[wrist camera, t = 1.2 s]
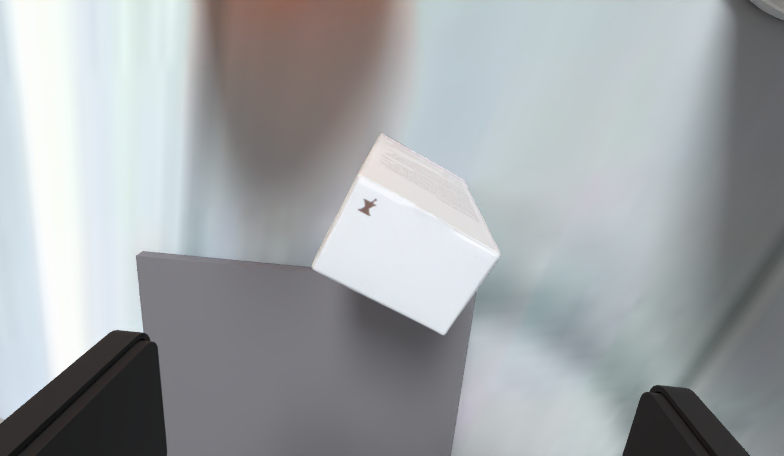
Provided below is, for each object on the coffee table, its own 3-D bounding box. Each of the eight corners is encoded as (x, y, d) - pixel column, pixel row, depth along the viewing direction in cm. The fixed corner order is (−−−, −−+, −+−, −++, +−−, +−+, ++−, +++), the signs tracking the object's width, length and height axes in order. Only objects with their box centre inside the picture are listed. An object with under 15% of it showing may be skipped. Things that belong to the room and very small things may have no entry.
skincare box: (348, 192, 28) (303, 268, 17) (381, 131, 27) (356, 169, 16) (432, 238, 29) (444, 341, 18) (468, 180, 28) (507, 251, 16)
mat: (475, 283, 30) (476, 288, 29) (442, 493, 35) (443, 502, 35) (142, 251, 30) (135, 255, 29) (162, 464, 36) (157, 472, 35)
